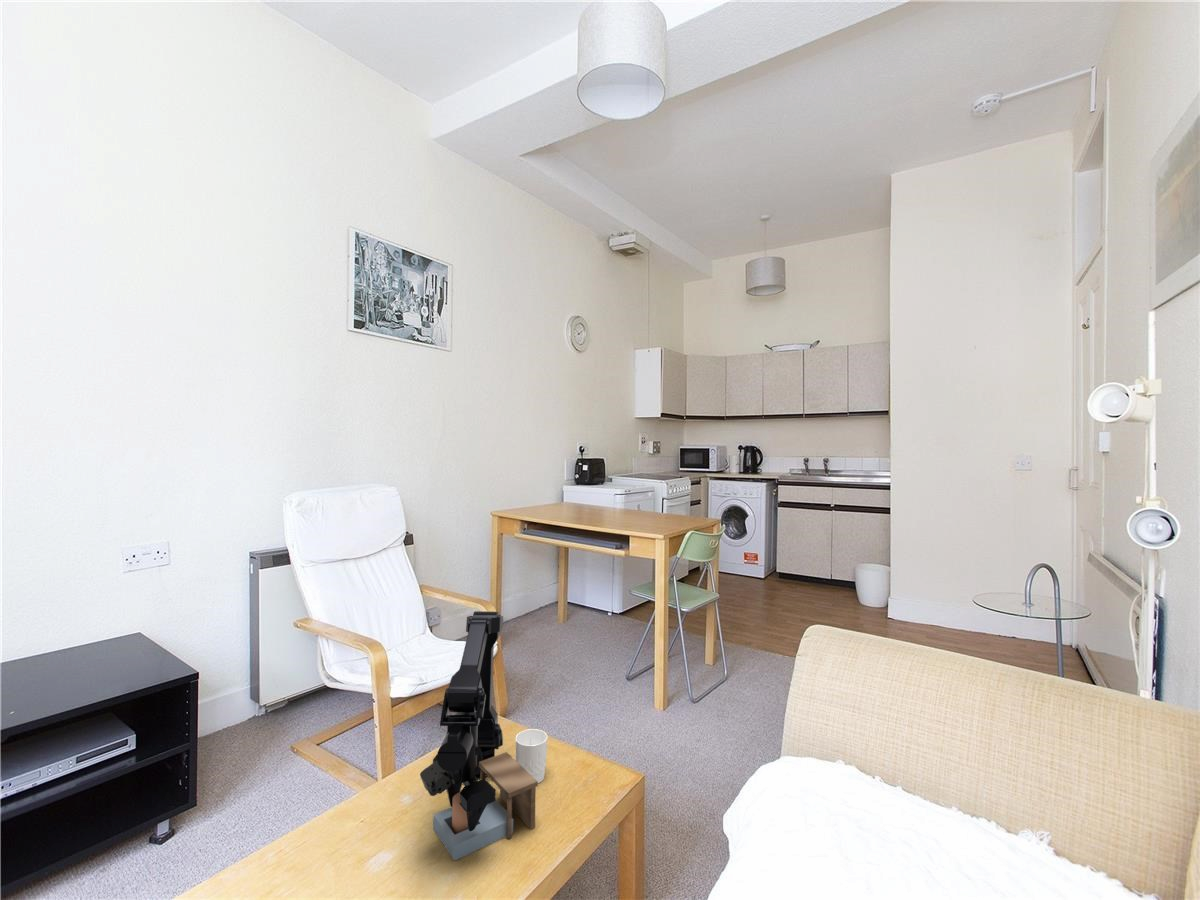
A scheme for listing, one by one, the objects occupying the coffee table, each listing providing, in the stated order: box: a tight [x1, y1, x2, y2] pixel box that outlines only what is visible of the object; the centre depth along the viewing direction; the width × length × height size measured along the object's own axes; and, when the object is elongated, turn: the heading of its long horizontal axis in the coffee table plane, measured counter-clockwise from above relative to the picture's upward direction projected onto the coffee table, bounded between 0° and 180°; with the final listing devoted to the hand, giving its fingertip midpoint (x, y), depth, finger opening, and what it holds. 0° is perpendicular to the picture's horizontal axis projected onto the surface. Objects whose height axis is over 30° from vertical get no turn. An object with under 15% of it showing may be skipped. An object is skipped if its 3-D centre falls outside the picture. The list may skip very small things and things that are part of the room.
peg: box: [452, 791, 469, 834], centre depth 114 cm, size 4×4×8 cm
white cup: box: [514, 728, 548, 784], centre depth 135 cm, size 8×8×10 cm
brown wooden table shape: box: [479, 751, 539, 840], centre depth 120 cm, size 14×7×10 cm, turn 38°
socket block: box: [432, 799, 514, 861], centre depth 115 cm, size 11×13×3 cm
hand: (462, 817), depth 114 cm, fingers open, 9 cm apart
